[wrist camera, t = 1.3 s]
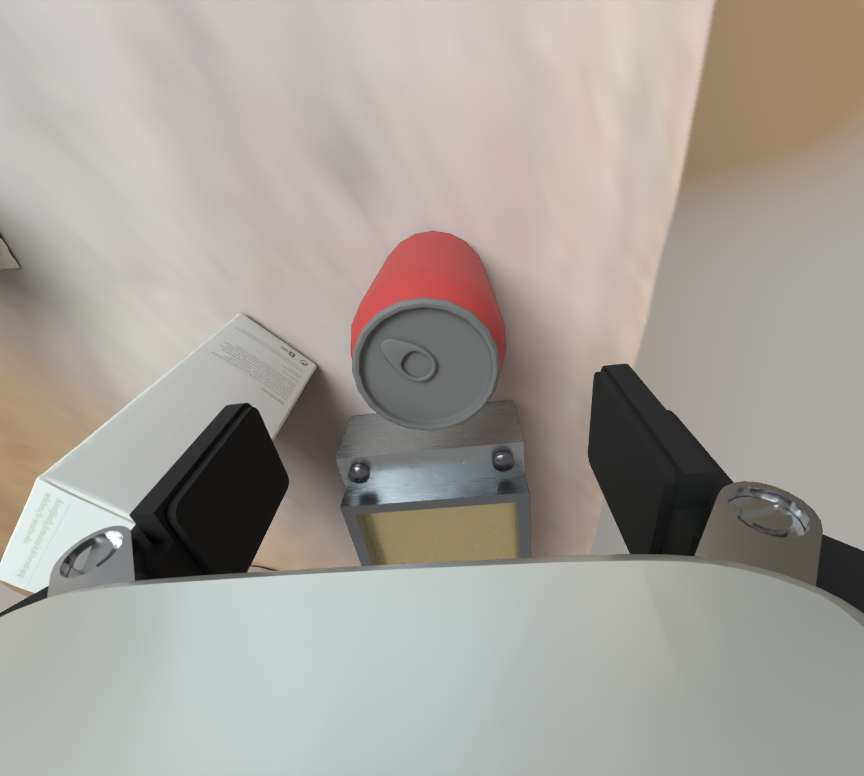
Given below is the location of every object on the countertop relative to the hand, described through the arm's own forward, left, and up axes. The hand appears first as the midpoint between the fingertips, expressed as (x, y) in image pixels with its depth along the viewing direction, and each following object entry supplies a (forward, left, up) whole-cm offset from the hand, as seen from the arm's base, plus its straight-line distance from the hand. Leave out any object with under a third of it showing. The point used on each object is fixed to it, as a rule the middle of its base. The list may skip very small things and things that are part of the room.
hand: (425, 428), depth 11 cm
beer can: (0, 0, -16) cm, 16 cm away
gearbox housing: (-13, -13, -16) cm, 25 cm away
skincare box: (-14, +5, -16) cm, 22 cm away
